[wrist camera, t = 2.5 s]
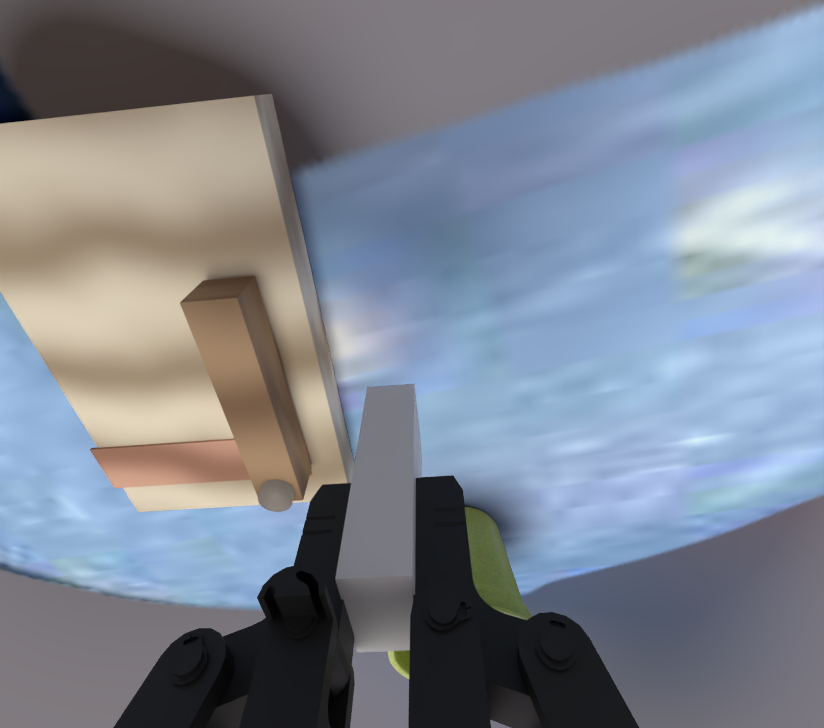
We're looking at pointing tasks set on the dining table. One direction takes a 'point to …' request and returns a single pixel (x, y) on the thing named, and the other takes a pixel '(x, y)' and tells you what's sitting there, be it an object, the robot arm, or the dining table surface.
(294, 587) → the robot arm
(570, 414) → the dining table surface
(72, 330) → the stool seat
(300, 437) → the folding leg
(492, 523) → the plant pot
